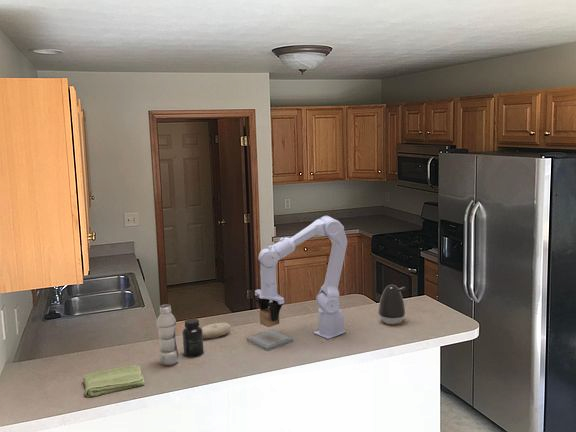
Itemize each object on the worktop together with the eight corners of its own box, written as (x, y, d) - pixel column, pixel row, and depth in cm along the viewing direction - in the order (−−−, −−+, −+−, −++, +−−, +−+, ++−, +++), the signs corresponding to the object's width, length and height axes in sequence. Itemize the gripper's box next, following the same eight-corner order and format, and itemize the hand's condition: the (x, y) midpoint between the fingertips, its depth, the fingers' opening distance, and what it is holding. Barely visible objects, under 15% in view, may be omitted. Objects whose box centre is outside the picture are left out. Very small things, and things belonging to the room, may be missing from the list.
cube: (271, 320, 199) (270, 307, 198) (279, 323, 196) (278, 310, 195) (260, 323, 196) (259, 310, 195) (268, 327, 192) (268, 313, 192)
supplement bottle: (184, 350, 192) (182, 318, 189) (204, 348, 192) (202, 316, 190) (182, 358, 185) (180, 325, 183) (203, 357, 185) (201, 323, 183)
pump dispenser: (408, 326, 207) (408, 288, 204) (380, 327, 207) (380, 289, 204) (402, 317, 217) (403, 280, 214) (376, 317, 217) (376, 281, 214)
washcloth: (146, 387, 166) (145, 377, 166) (85, 400, 159) (84, 390, 159) (139, 370, 178) (139, 360, 177) (82, 381, 171) (81, 372, 170)
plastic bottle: (162, 369, 177) (158, 311, 174) (157, 361, 183) (152, 305, 179) (181, 364, 180) (177, 307, 176) (175, 357, 186) (172, 301, 182)
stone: (235, 327, 204) (208, 327, 196) (228, 341, 205) (202, 341, 198) (227, 319, 208) (201, 318, 200) (221, 332, 210) (195, 332, 202)
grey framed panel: (272, 332, 206) (272, 329, 205) (293, 341, 197) (293, 338, 196) (247, 340, 198) (246, 337, 198) (267, 350, 189) (267, 347, 189)
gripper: (247, 280, 196) (249, 316, 199) (272, 289, 185) (273, 326, 188) (263, 276, 201) (264, 311, 203) (288, 284, 190) (289, 321, 192)
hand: (269, 318), depth 196 cm, fingers closed on cube, 5 cm apart
